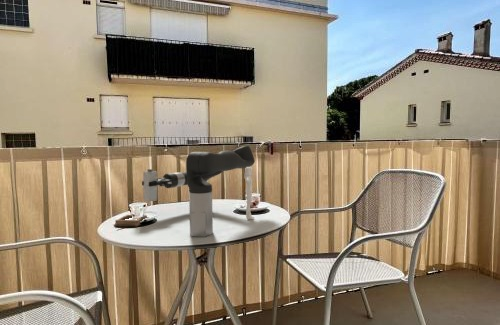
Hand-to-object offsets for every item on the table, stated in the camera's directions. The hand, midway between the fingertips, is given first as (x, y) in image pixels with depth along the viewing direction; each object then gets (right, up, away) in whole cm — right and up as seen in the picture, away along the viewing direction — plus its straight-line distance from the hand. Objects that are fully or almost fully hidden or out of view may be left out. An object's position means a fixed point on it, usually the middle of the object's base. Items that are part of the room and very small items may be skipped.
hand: (145, 183), depth 148 cm
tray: (-5, -18, -5) cm, 19 cm away
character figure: (+49, -17, +1) cm, 52 cm away
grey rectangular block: (+1, -8, +2) cm, 9 cm away
